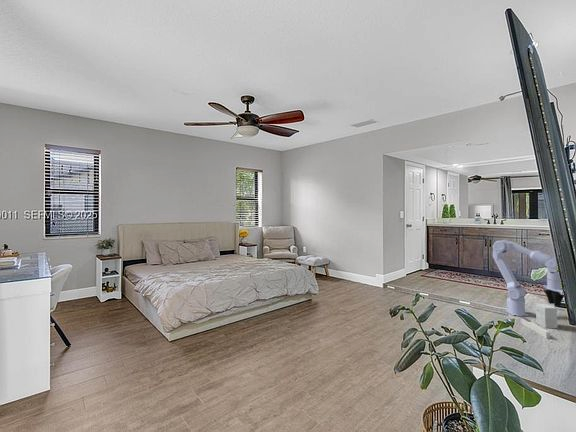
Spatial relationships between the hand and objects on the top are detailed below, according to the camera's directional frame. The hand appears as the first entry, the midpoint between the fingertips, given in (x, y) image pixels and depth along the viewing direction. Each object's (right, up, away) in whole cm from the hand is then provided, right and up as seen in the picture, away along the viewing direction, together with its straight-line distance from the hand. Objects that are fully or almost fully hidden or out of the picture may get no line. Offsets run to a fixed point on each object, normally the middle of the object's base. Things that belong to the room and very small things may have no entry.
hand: (554, 304), depth 164 cm
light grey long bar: (-19, -10, -10) cm, 24 cm away
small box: (-8, -10, -5) cm, 14 cm away
